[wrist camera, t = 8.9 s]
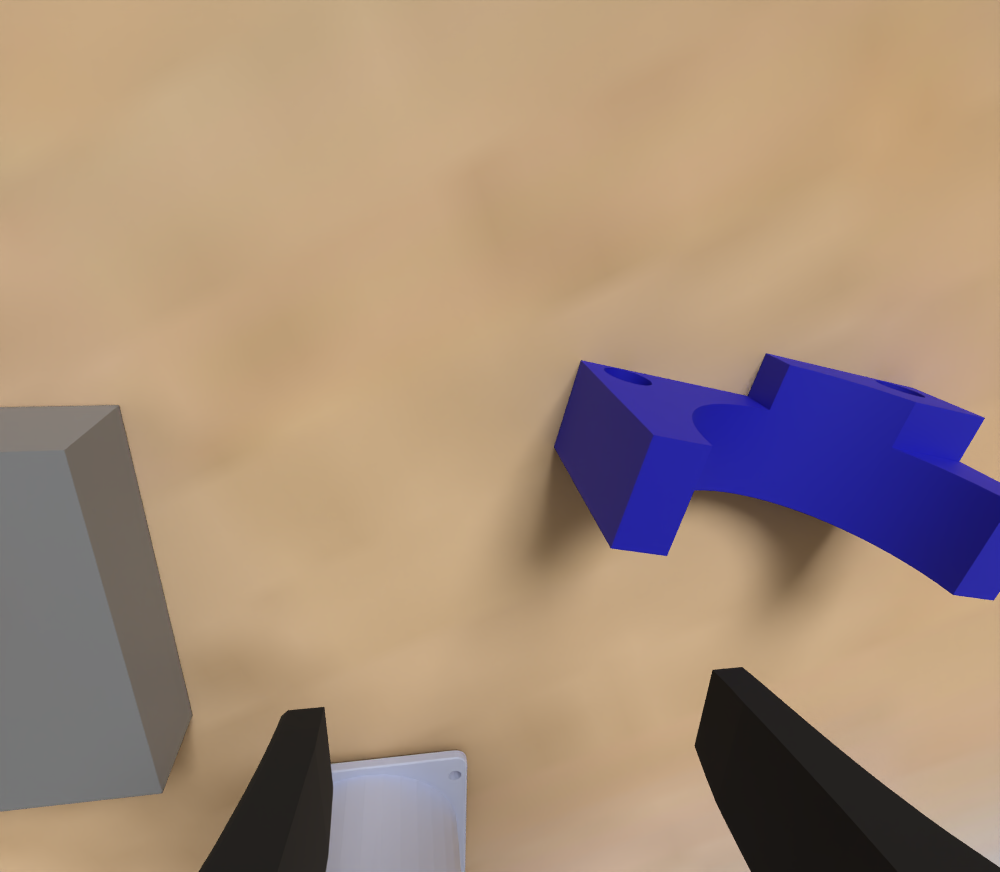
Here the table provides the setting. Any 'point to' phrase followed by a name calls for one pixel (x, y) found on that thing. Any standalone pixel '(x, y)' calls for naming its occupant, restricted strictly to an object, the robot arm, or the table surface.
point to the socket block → (80, 617)
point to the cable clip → (787, 462)
